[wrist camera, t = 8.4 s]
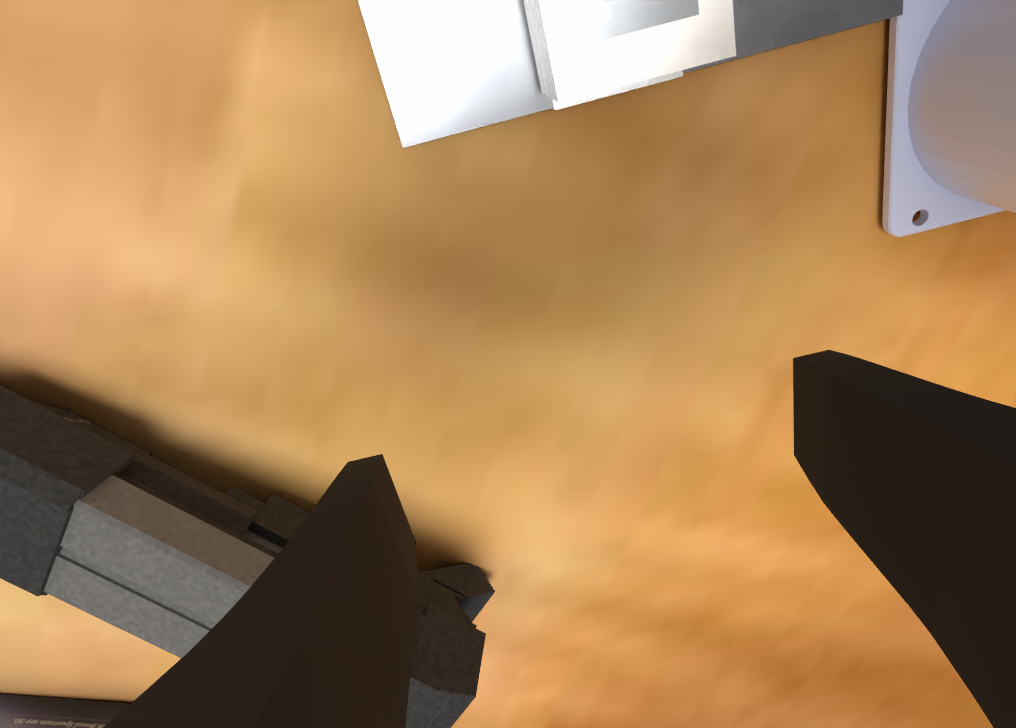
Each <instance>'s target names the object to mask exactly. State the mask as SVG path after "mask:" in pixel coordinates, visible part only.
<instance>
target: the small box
mask: <svg viewBox="0 0 1016 728" xmlns="http://www.w3.org/2000/svg"><path fill="white" fill-rule="evenodd" d="M129 705H130V704H128V703H116V702H102V701H87V700H76V699H60V698H46V697H34V696H22V695H8V694H0V728H103V727H104V726H105V725H106V724H107V723H109V722H110V721H111V720H112V719H114V718H115V717H116V716H117V715H118V714H120V713H121V712H122V711H123V710H124V709H126V708H127V707H128V706H129Z"/></svg>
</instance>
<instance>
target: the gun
mask: <svg viewBox="0 0 1016 728" xmlns="http://www.w3.org/2000/svg"><path fill="white" fill-rule="evenodd" d="M150 455H151V453H149V452H147V451H145V450H143V449H141V448H140V447H138V446H136V445H134V444H132V443H130V442H128V441H126V440H124V439H122V438H120V437H118V436H117V435H115V434H113V433H111V432H109V431H107V430H105V429H103V428H101V427H99V426H97V425H95V424H94V423H92V422H90V421H88V420H86V419H84V418H82V417H80V416H78V415H76V414H74V413H72V412H70V410H69V409H65V410H64V409H62V408H58V407H53V406H49V405H44V404H42V403H38V402H33V401H30V400H28V399H26V398H24V397H22V396H20V395H18V394H16V393H15V392H13V391H11V390H9V389H7V388H5V387H3V386H1V385H0V578H1V579H3V580H5V581H7V582H9V583H11V584H13V585H15V586H18V587H20V588H22V589H24V590H26V591H28V592H30V593H32V594H34V595H36V596H39V595H45V596H46V595H47V594H50V595H52V596H54V597H56V598H58V599H60V600H62V601H64V602H66V603H68V604H70V605H72V606H75V607H77V608H79V609H81V610H83V611H85V612H87V613H89V614H91V615H93V616H95V617H97V618H99V619H101V620H103V621H106V622H108V623H110V624H112V625H114V626H116V627H118V628H120V629H122V630H124V631H126V632H128V633H130V634H132V635H134V636H136V637H139V638H141V639H143V640H145V641H147V642H149V643H151V644H153V645H155V646H157V647H159V648H161V649H163V650H165V651H167V652H170V653H172V654H174V655H176V656H178V657H180V658H183V657H184V656H185V655H186V654H187V653H188V652H189V651H190V650H191V649H192V648H193V647H194V646H195V645H196V644H197V643H198V642H199V641H200V640H201V639H202V638H203V637H204V636H205V635H206V634H207V633H208V632H209V631H210V630H211V629H212V628H213V627H214V626H215V625H216V624H217V623H218V622H219V621H220V620H221V619H222V618H223V617H224V616H225V615H226V614H227V612H228V611H229V610H230V609H231V608H232V607H233V606H234V605H235V604H236V603H237V602H238V601H239V599H240V598H241V597H242V596H243V595H244V594H245V593H246V592H247V591H248V589H249V588H250V587H251V586H252V585H253V583H254V582H255V581H256V580H257V579H258V577H259V576H260V575H261V574H262V573H263V571H264V570H265V569H266V568H267V567H268V565H269V564H270V563H271V562H272V561H273V559H274V558H275V557H276V556H277V555H278V553H279V552H280V551H281V550H282V549H283V547H284V546H285V545H286V544H287V542H288V541H289V540H290V539H291V537H292V536H293V535H294V533H295V532H296V531H297V529H298V528H299V527H300V525H301V524H302V523H303V521H304V520H305V519H306V517H307V516H308V515H309V513H310V512H308V511H306V510H304V509H302V508H300V507H298V506H296V505H294V504H293V503H291V502H289V501H287V500H285V499H283V498H281V497H279V496H277V495H275V494H272V495H271V497H270V498H269V499H268V501H267V502H266V503H264V502H262V501H260V500H258V499H256V498H254V497H252V496H250V495H249V494H247V493H245V492H243V491H241V490H239V489H237V488H235V487H233V486H232V487H231V489H230V490H229V491H228V492H227V493H226V494H223V493H221V492H219V491H217V490H215V489H213V488H211V487H210V486H208V485H206V484H204V483H202V482H200V481H198V480H196V479H194V478H192V477H190V476H188V475H186V474H185V473H183V472H181V471H179V470H177V469H175V468H173V467H171V466H169V465H167V464H165V463H163V462H162V461H160V460H158V459H156V458H154V457H152V456H150ZM417 592H418V596H417V609H416V620H415V631H414V642H413V653H412V663H411V673H410V684H409V694H408V705H407V715H406V728H451V727H452V725H453V724H454V723H455V722H456V720H457V719H458V718H459V717H460V715H461V714H462V713H463V712H464V711H465V709H466V708H467V707H468V706H469V704H470V703H471V702H472V701H473V699H474V698H475V697H476V691H477V685H478V679H479V673H480V666H481V660H482V654H483V648H484V641H485V635H486V634H485V633H484V632H482V631H480V630H478V629H476V625H475V624H473V623H472V621H473V620H474V619H475V617H476V616H477V615H478V613H479V612H480V611H481V609H482V608H483V607H484V605H485V604H486V603H487V601H488V600H489V599H490V597H491V596H492V595H493V593H494V592H495V590H493V587H492V586H491V584H490V583H489V581H488V580H487V578H486V577H485V575H484V574H483V572H482V571H481V569H479V567H477V566H475V565H472V564H469V563H467V564H466V563H465V564H463V563H462V565H461V564H459V565H454V566H452V565H451V567H450V566H448V567H445V568H444V567H443V568H440V569H438V568H437V569H434V570H432V569H431V571H430V570H428V571H425V572H424V571H420V570H418V569H417Z"/></svg>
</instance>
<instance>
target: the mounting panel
mask: <svg viewBox="0 0 1016 728" xmlns="http://www.w3.org/2000/svg"><path fill="white" fill-rule="evenodd" d="M358 2H359V6H360V9H361V12H362V16H363V19H364V22H365V25H366V29H367V32H368V35H369V38H370V42H371V45H372V48H373V52H374V55H375V58H376V61H377V65H378V68H379V71H380V75H381V78H382V81H383V84H384V88H385V91H386V94H387V97H388V101H389V104H390V107H391V111H392V114H393V117H394V120H395V124H396V127H397V130H398V134H399V137H400V140H401V143H402V147H403V148H405V147H408V146H412V145H416V144H420V143H423V142H427V141H431V140H435V139H438V138H442V137H446V136H450V135H453V134H457V133H461V132H465V131H468V130H472V129H476V128H480V127H483V126H487V125H491V124H495V123H499V122H502V121H506V120H510V119H514V118H517V117H521V116H525V115H529V114H532V113H536V112H540V111H544V110H547V109H551V108H552V109H553V110H558V109H562V108H566V107H570V106H573V105H577V104H581V103H585V102H588V101H592V100H596V99H600V98H603V97H607V96H611V95H615V94H618V93H622V92H626V91H630V90H634V89H637V88H641V87H645V86H649V85H652V84H656V83H660V82H664V81H667V80H671V79H675V78H679V77H682V76H683V73H686V72H690V71H694V70H697V69H701V68H705V67H709V66H712V65H716V64H720V63H724V62H727V61H731V60H735V59H739V58H742V57H746V56H750V55H754V54H757V53H761V52H765V51H769V50H772V49H776V48H780V47H784V46H787V45H791V44H795V43H799V42H802V41H806V40H810V39H814V38H817V37H821V36H825V35H829V34H832V33H836V32H840V31H844V30H847V29H851V28H855V27H859V26H862V25H866V24H870V23H874V22H878V21H881V20H885V19H889V18H893V17H896V16H900V15H903V0H358Z"/></svg>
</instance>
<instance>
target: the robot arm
mask: <svg viewBox="0 0 1016 728" xmlns="http://www.w3.org/2000/svg"><path fill="white" fill-rule="evenodd" d="M919 210H920V212H921V213H920V216H919V218H918V219H917V220H916V221H914V222H912V218H913V215H914V214H915V213H916V212H917V211H919ZM1005 210H1008V211H1011V212H1014V213H1016V0H903V15H900V16H896V17H893V18H890V33H889V59H888V86H887V112H886V138H885V165H884V191H883V218H882V224H883V229H884V230H885V231H886V232H887V233H889V234H891V235H894V236H896V237H903V236H907V235H911V234H915V233H919V232H923V231H927V230H930V229H934V228H938V227H942V226H946V225H950V224H954V223H958V222H962V221H966V220H970V219H974V218H978V217H982V216H986V215H990V214H994V213H998V212H1001V211H1005ZM793 391H794V456H795V457H796V459H797V461H798V462H799V464H800V466H801V467H802V469H803V471H804V472H805V474H806V476H807V478H808V479H809V481H810V482H811V484H812V486H813V487H814V489H815V490H816V492H817V493H818V495H819V496H820V498H821V500H822V501H823V503H824V504H825V505H826V506H827V508H828V509H829V510H830V511H831V513H832V514H833V515H834V516H835V518H836V519H837V520H838V521H839V522H840V524H841V525H842V526H843V527H844V528H845V530H846V531H847V532H848V533H849V535H850V536H851V537H852V538H853V539H854V541H855V542H856V543H857V544H858V545H859V547H860V548H861V549H862V550H863V551H864V553H865V554H866V555H867V556H868V557H869V559H870V560H871V561H872V562H873V563H874V564H875V566H876V567H877V568H878V569H879V570H880V572H881V573H882V574H883V575H884V576H885V578H886V579H887V580H888V581H889V582H890V584H891V585H892V586H893V587H894V588H895V590H896V591H897V592H898V593H899V594H900V596H901V597H902V598H903V599H904V600H905V602H906V603H907V604H908V605H909V606H910V607H911V609H912V610H913V611H914V613H915V614H916V615H917V616H918V618H919V619H920V620H921V622H922V623H923V624H924V626H925V627H926V628H927V629H928V631H929V632H930V633H931V635H932V636H933V638H934V639H935V640H936V642H937V643H938V645H939V646H940V648H941V649H942V651H943V652H944V654H945V655H946V657H947V658H948V660H949V661H950V662H951V664H952V665H953V667H954V668H955V670H956V671H957V673H958V674H959V676H960V677H961V679H962V680H963V682H964V683H965V684H966V686H967V687H968V689H969V690H970V692H971V693H972V695H973V696H974V698H975V699H976V701H977V703H978V704H979V706H980V707H981V709H982V710H983V712H984V713H985V715H986V716H987V718H988V720H989V721H990V723H991V724H992V726H993V727H994V728H1016V408H1013V407H1010V406H1006V405H1003V404H999V403H996V402H992V401H989V400H986V399H982V398H979V397H976V396H972V395H969V394H966V393H963V392H960V391H956V390H953V389H950V388H947V387H944V386H941V385H938V384H935V383H932V382H929V381H926V380H923V379H920V378H917V377H914V376H911V375H908V374H905V373H902V372H899V371H896V370H893V369H890V368H887V367H884V366H881V365H878V364H875V363H872V362H869V361H866V360H863V359H860V358H857V357H853V356H850V355H847V354H843V353H839V352H835V351H831V350H826V351H822V352H818V353H814V354H809V355H805V356H801V357H796V358H793ZM417 596H418V592H417V561H416V542H415V539H414V536H413V534H412V531H411V528H410V526H409V523H408V521H407V518H406V515H405V513H404V510H403V507H402V505H401V502H400V500H399V497H398V494H397V492H396V489H395V486H394V484H393V481H392V478H391V476H390V473H389V471H388V468H387V465H386V463H385V460H384V457H383V455H382V454H380V455H376V456H372V457H368V458H363V459H359V460H355V461H350V462H348V463H347V464H346V465H345V467H344V468H343V469H342V470H341V472H340V473H339V474H338V476H337V477H336V478H335V480H334V481H333V482H332V484H331V485H330V486H329V488H328V489H327V490H326V492H325V493H324V495H323V496H322V497H321V499H320V500H319V501H318V503H317V504H316V505H315V507H314V508H313V509H312V511H311V512H310V513H309V515H308V516H307V517H306V519H305V520H304V521H303V523H302V524H301V525H300V527H299V528H298V529H297V531H296V532H295V533H294V535H293V536H292V537H291V539H290V540H289V541H288V542H287V544H286V545H285V546H284V547H283V549H282V550H281V551H280V552H279V553H278V555H277V556H276V557H275V558H274V559H273V561H272V562H271V563H270V564H269V565H268V567H267V568H266V569H265V570H264V571H263V573H262V574H261V575H260V576H259V577H258V579H257V580H256V581H255V582H254V583H253V585H252V586H251V587H250V588H249V589H248V591H247V592H246V593H245V594H244V595H243V596H242V597H241V598H240V599H239V601H238V602H237V603H236V604H235V605H234V606H233V607H232V608H231V609H230V610H229V611H228V612H227V614H226V615H225V616H224V617H223V618H222V619H221V620H220V621H219V622H218V623H217V624H216V625H215V626H214V627H213V628H212V629H211V630H210V631H209V632H208V633H207V634H206V635H205V636H204V637H203V638H202V639H201V640H200V641H199V642H198V643H197V644H196V645H195V646H194V647H193V648H192V649H191V650H190V651H189V652H188V653H187V654H186V655H185V656H184V657H183V658H181V659H180V660H179V661H178V662H177V663H176V664H175V665H174V666H173V667H171V668H170V669H169V670H168V671H167V672H166V673H165V674H164V675H162V676H161V677H160V678H159V679H158V680H157V681H156V682H155V683H154V684H152V685H151V686H150V687H149V688H148V689H147V690H146V691H145V692H144V693H142V694H141V695H140V696H139V697H138V698H137V699H136V700H135V701H134V702H132V703H131V704H130V705H129V706H128V707H127V708H126V709H124V710H123V711H122V712H121V713H120V714H118V715H117V716H116V717H115V718H114V719H112V720H111V721H110V722H109V723H107V724H106V725H105V726H104V727H103V728H406V715H407V705H408V694H409V684H410V673H411V663H412V653H413V642H414V631H415V620H416V609H417Z"/></svg>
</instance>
